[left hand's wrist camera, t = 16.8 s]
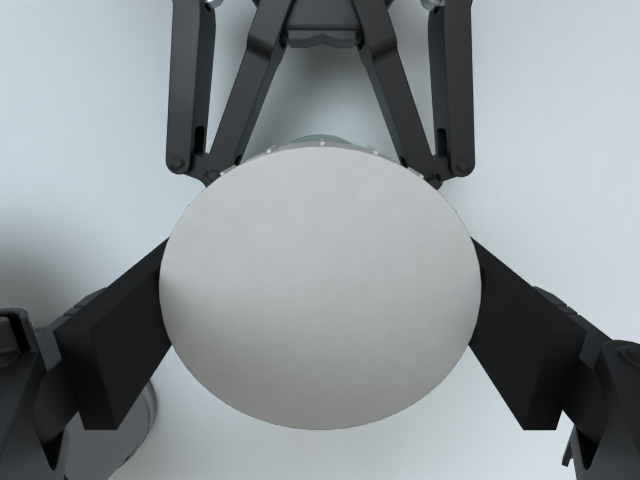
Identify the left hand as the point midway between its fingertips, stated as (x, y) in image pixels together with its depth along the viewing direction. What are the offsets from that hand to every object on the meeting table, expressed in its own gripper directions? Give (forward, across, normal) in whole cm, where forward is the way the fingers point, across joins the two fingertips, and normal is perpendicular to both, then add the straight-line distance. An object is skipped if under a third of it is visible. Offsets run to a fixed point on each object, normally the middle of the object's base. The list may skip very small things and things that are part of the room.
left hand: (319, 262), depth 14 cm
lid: (-3, 0, 0) cm, 3 cm away
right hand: (+6, 0, -5) cm, 8 cm away
